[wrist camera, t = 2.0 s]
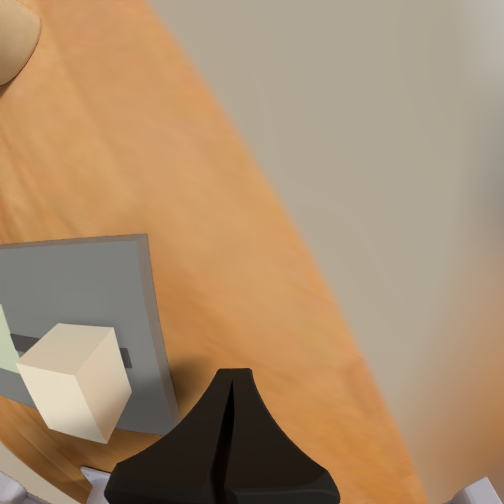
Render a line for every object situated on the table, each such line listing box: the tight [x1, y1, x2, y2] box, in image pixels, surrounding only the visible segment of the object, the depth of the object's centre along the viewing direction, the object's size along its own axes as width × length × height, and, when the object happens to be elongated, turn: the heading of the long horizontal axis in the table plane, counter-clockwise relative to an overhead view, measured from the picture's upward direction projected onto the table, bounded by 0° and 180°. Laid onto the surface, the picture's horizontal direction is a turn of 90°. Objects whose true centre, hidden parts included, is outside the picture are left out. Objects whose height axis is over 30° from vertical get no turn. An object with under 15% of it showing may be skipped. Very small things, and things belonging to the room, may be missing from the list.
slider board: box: [0, 234, 182, 435], centre depth 14 cm, size 12×16×2 cm
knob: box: [15, 323, 132, 444], centre depth 11 cm, size 4×4×4 cm
